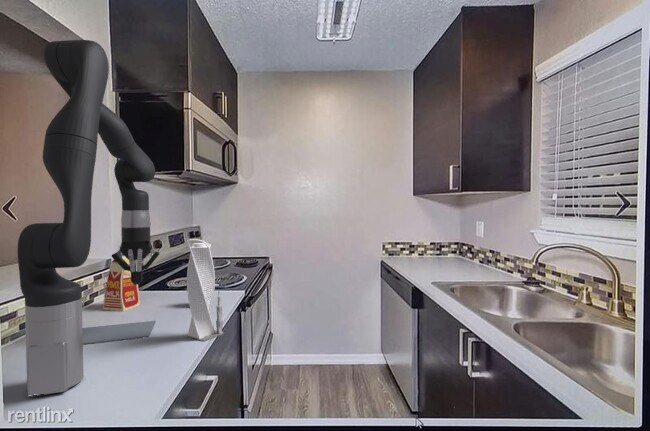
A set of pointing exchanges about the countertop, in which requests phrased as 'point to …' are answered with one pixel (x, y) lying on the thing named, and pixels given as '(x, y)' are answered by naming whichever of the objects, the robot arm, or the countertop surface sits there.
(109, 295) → the milk carton
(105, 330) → the mat
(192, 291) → the skyscraper
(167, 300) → the countertop surface
